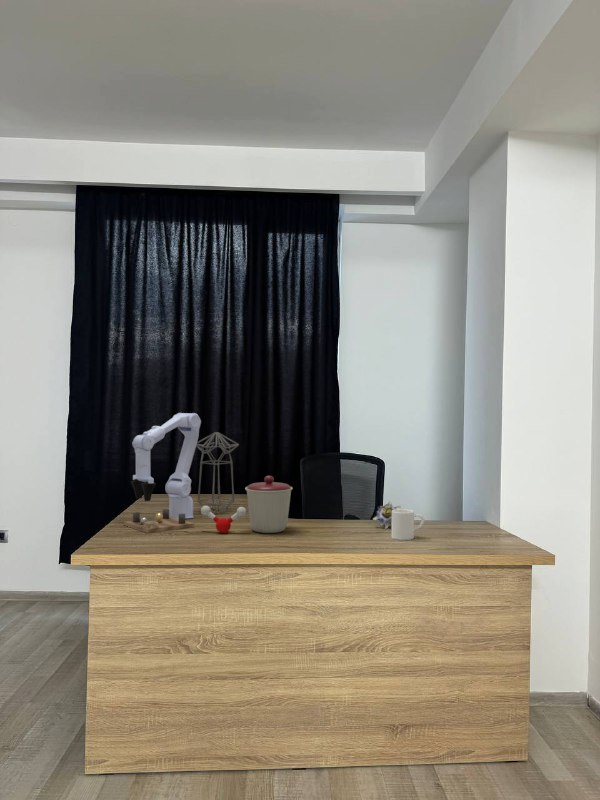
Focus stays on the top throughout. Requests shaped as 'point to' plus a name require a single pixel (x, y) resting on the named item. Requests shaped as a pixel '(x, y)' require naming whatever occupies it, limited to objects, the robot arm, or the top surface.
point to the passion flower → (385, 514)
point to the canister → (268, 505)
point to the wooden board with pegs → (166, 524)
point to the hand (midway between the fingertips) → (143, 499)
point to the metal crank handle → (158, 519)
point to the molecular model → (223, 523)
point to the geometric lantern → (219, 436)
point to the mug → (404, 524)
